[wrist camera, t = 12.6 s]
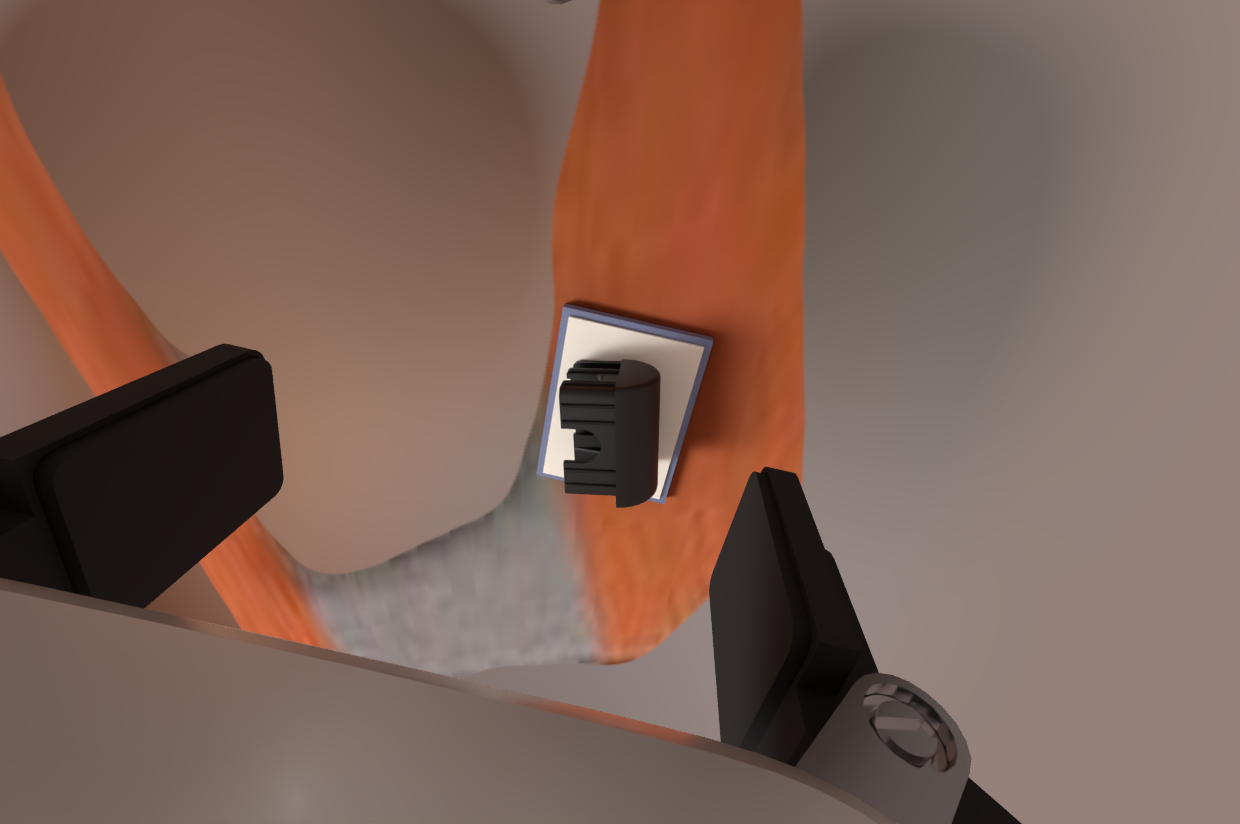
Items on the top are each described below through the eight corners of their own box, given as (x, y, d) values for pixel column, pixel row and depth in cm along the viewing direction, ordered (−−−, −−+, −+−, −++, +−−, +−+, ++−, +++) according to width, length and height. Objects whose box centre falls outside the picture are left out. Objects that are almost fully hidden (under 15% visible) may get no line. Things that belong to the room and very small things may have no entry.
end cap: (658, 464, 46) (656, 511, 40) (578, 460, 46) (564, 506, 40) (661, 356, 41) (659, 390, 35) (573, 353, 42) (556, 387, 36)
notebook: (565, 303, 42) (562, 307, 40) (712, 337, 42) (713, 342, 41) (538, 469, 49) (535, 476, 48) (664, 497, 49) (664, 505, 48)
